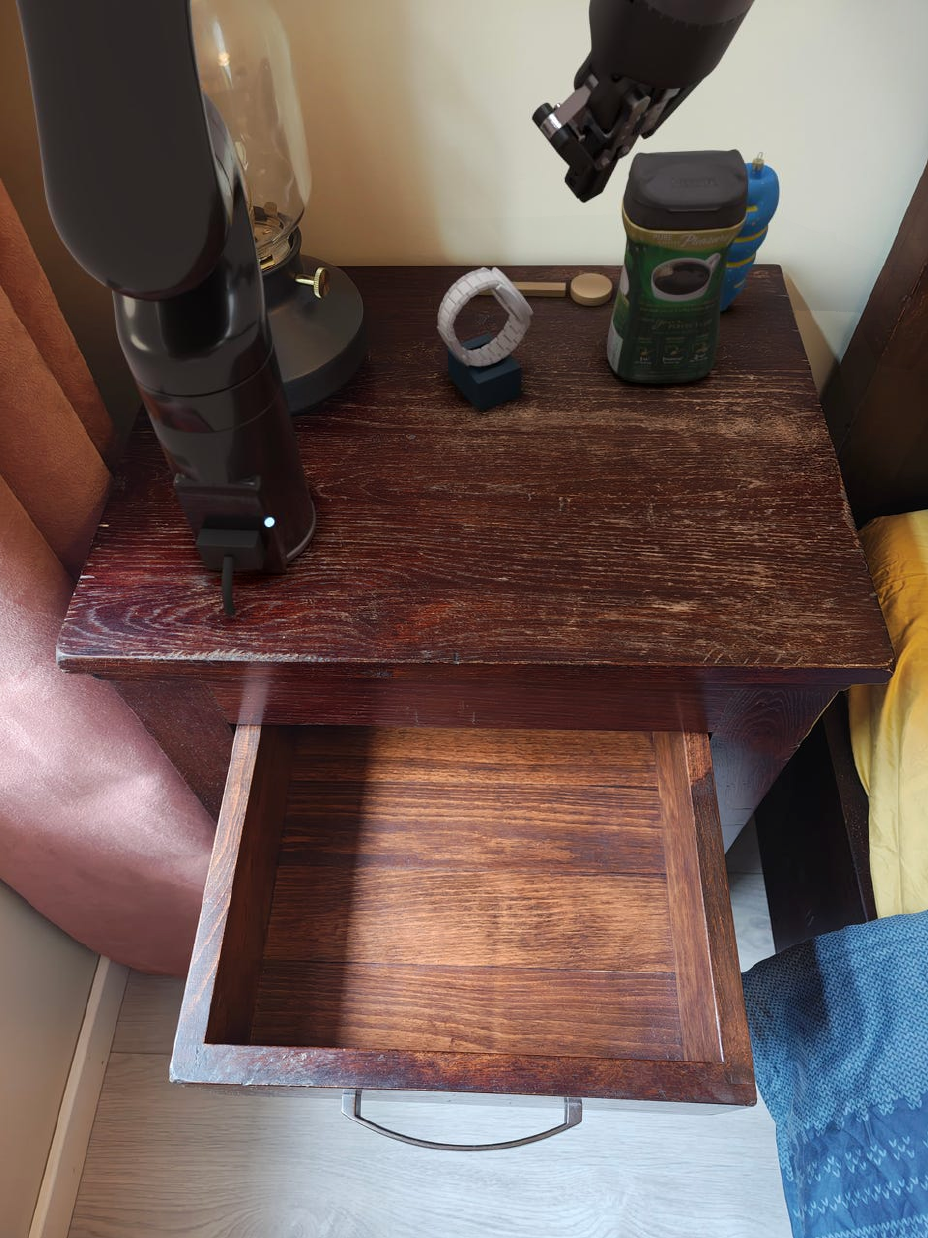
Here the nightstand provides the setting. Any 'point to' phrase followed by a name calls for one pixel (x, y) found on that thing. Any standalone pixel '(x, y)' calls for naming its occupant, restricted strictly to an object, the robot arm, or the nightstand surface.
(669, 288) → the coffee jar
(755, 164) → the ornament
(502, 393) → the watch
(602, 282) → the spoon
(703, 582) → the nightstand surface
